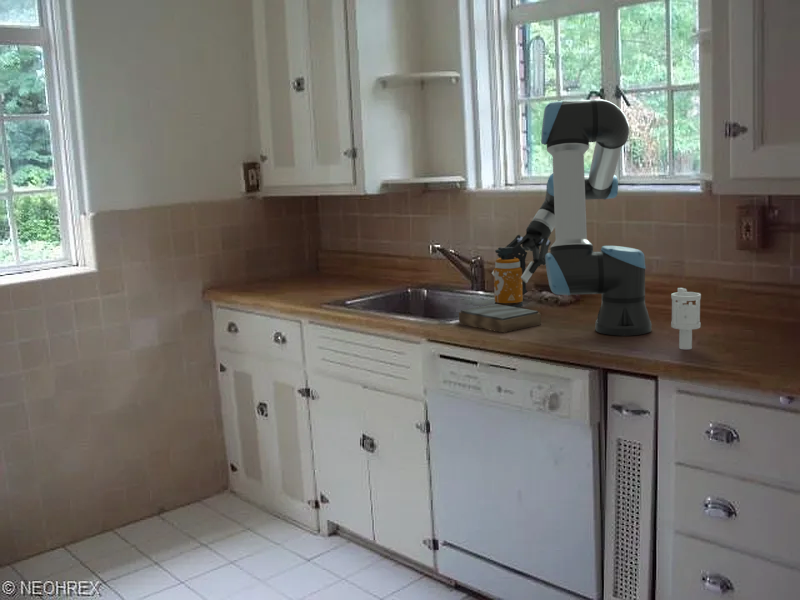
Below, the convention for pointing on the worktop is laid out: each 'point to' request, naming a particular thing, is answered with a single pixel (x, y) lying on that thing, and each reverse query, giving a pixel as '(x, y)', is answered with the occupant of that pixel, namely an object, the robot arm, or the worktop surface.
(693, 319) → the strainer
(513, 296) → the canister
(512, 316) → the stand
